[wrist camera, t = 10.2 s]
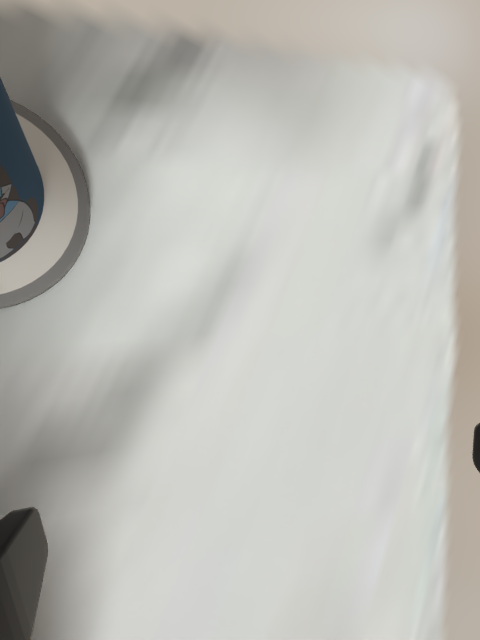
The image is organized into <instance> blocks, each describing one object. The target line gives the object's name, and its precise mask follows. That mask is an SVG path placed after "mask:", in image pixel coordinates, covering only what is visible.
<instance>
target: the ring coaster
mask: <svg viewBox="0 0 480 640" xmlns="http://www.w3.org/2000/svg"><path fill="white" fill-rule="evenodd" d="M10 102H11V104H12V106H13V109H14V111H15V114H16V116H17V118H18V121H19V123H20V125H21V128H22V130H23V132H24V135H25V137H26V140H27V142H28V144H29V147H30V149H31V151H32V154H33V156H34V158H35V161H36V163H37V166H38V168H39V171H40V173H41V177H42V181H43V186H44V207H43V212H42V216H41V219H40V222H39V224H38V226H37V228H36V230H35V232H34V233H33V235H32V236H31V238H30V239H29V240H28V242H27V243H26V244H25V245H24V246H23V247H22V248H21V249H20V250H19V251H17V252H16V253H15V254H13V255H12V256H11V257H9V258H7V259H6V260H4V261H2V262H0V309H1V308H5V307H10V306H14V305H17V304H20V303H23V302H25V301H28V300H30V299H32V298H34V297H36V296H38V295H40V294H42V293H44V292H45V291H47V290H48V289H50V288H51V287H52V286H54V285H55V284H56V283H57V282H58V281H60V280H61V279H62V278H63V277H64V276H65V275H66V274H67V272H68V271H69V270H70V269H71V268H72V266H73V265H74V263H75V262H76V260H77V259H78V257H79V256H80V253H81V251H82V249H83V247H84V244H85V241H86V238H87V234H88V230H89V223H90V204H89V197H88V191H87V185H86V182H85V178H84V175H83V172H82V170H81V168H80V165H79V163H78V161H77V159H76V157H75V156H74V154H73V152H72V151H71V149H70V148H69V146H68V145H67V144H66V142H65V141H64V140H63V139H62V137H61V136H60V135H59V134H58V133H57V132H56V131H55V130H54V129H53V128H52V127H51V126H50V125H49V124H47V123H46V122H45V121H44V120H43V119H41V118H40V117H39V116H37V115H36V114H34V113H33V112H31V111H30V110H28V109H27V108H25V107H23V106H21V105H19V104H17V103H15V102H13V101H11V100H10Z"/></svg>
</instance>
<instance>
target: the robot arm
mask: <svg viewBox="0 0 480 640" xmlns="http://www.w3.org/2000/svg"><path fill="white" fill-rule="evenodd" d="M473 462H474V465H475V467H476V468H477V470H478V471H479V472H480V423H479V424H477V425H476V427H475V429H474V440H473ZM47 555H48V545H47V540H46V536H45V533H44V529H43V525H42V521H41V518H40V514H39V512H38V510H37V509H36V508H34V507H30V508H25V509H20V510H15V511H12V512H10V513H9V514H7V515H6V516H5V517H4V518H2V519H1V520H0V640H31V636H32V631H33V626H34V621H35V616H36V611H37V606H38V601H39V596H40V591H41V586H42V581H43V576H44V571H45V566H46V561H47Z"/></svg>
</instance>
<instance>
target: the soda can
mask: <svg viewBox="0 0 480 640" xmlns="http://www.w3.org/2000/svg"><path fill="white" fill-rule="evenodd" d="M43 207H44V186H43V181H42V177H41V173H40V171H39V168H38V166H37V163H36V161H35V158H34V156H33V154H32V151H31V149H30V147H29V144H28V142H27V140H26V137H25V135H24V132H23V130H22V128H21V125H20V123H19V121H18V118H17V116H16V114H15V111H14V109H13V106H12V104H11V102H10V99H9V97H8V95H7V92H6V90H5V87H4V85H3V83H2V80H1V78H0V262H2V261H4V260H6V259H7V258H9V257H11V256H12V255H13V254H15V253H16V252H17V251H19V250H20V249H21V248H22V247H23V246H24V245H25V244H26V243H27V242H28V240H29V239H30V238H31V236H32V235H33V233H34V232H35V230H36V228H37V226H38V224H39V222H40V219H41V216H42V212H43Z"/></svg>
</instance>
